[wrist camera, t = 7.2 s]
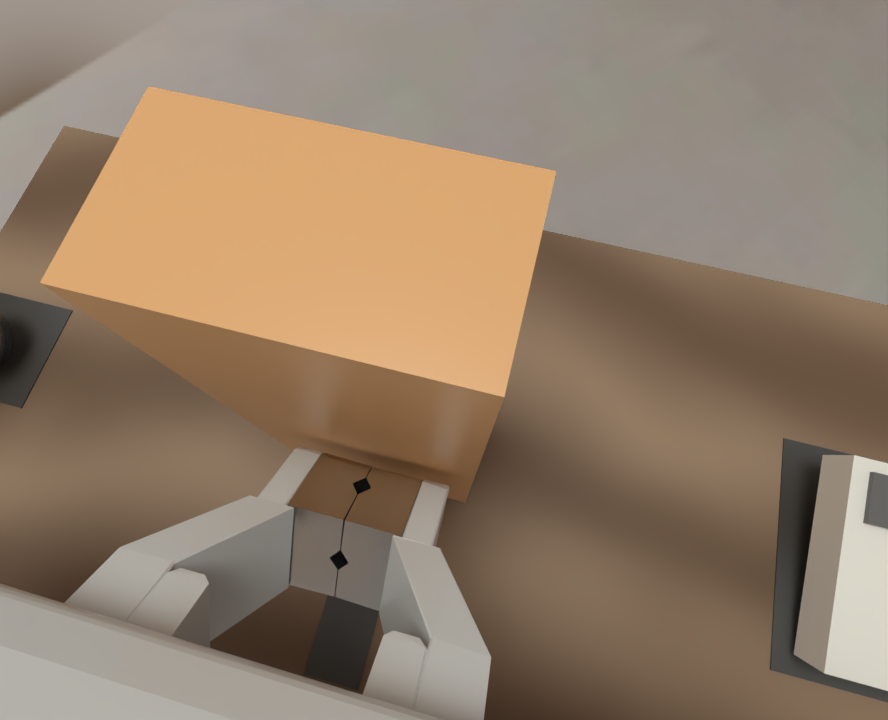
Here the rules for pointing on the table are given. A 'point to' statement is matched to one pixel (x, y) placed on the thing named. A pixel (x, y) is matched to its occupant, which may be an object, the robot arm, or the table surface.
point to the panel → (497, 476)
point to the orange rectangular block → (314, 276)
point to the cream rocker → (848, 573)
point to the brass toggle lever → (5, 340)
